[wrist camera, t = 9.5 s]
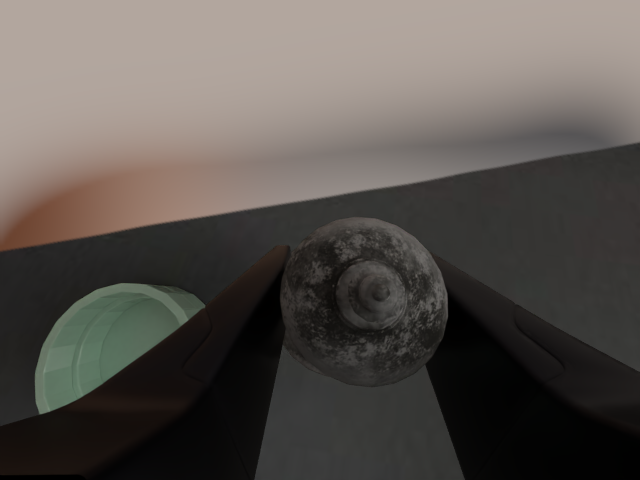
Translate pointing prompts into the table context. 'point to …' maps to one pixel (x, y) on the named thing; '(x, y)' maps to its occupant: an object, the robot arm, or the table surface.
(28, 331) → the table surface
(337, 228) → the gray chess piece
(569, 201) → the table surface
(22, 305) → the table surface
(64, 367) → the shallow mint dish
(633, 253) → the table surface
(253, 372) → the robot arm
